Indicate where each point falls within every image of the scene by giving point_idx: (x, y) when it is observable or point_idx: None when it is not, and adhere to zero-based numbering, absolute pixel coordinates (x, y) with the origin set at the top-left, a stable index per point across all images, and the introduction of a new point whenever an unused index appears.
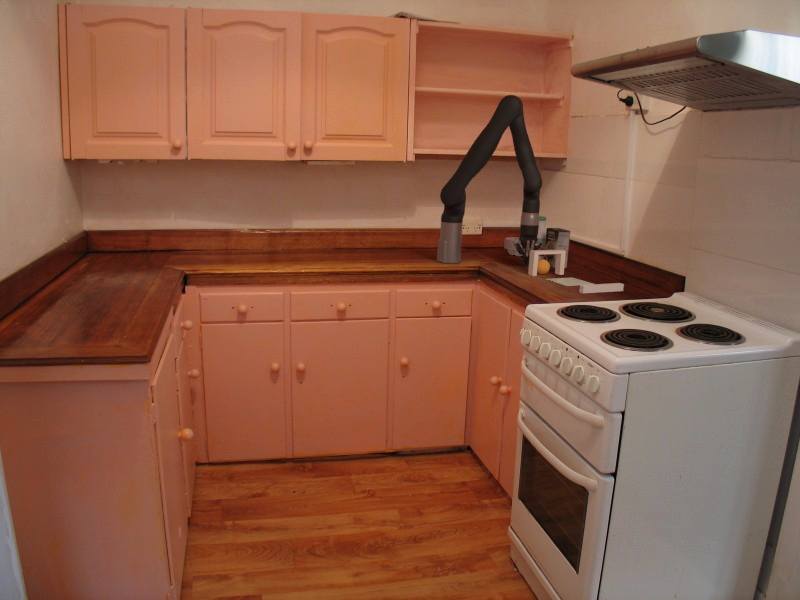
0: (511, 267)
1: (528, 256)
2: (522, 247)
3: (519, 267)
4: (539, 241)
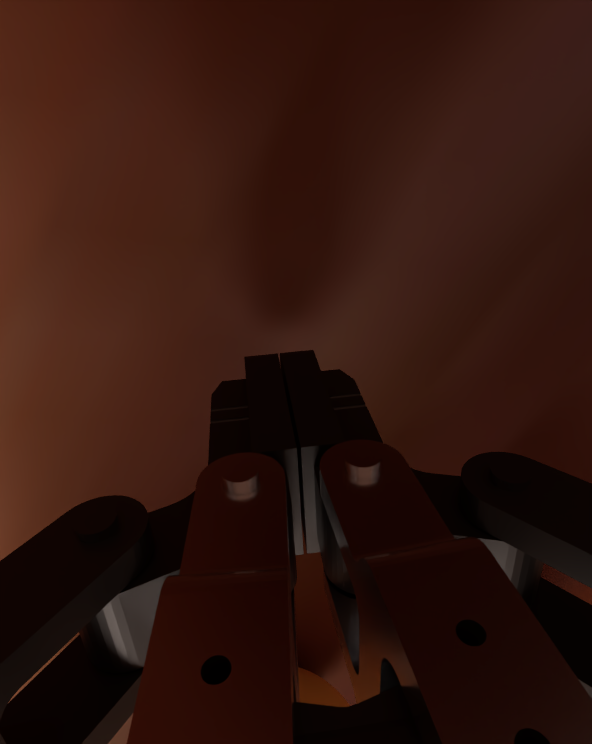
0: (36, 218)
1: (318, 538)
2: (152, 690)
3: (213, 236)
4: None
